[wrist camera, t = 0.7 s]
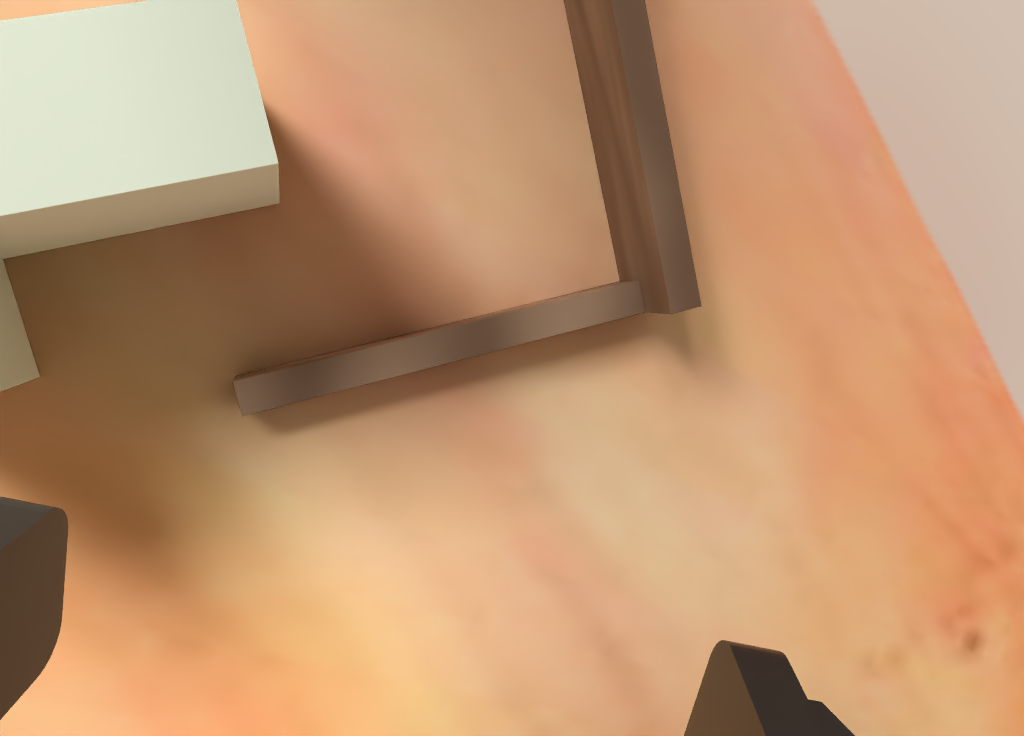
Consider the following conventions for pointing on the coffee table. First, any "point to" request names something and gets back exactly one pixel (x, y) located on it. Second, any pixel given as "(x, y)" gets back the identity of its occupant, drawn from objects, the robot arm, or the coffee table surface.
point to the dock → (630, 211)
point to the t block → (123, 132)
